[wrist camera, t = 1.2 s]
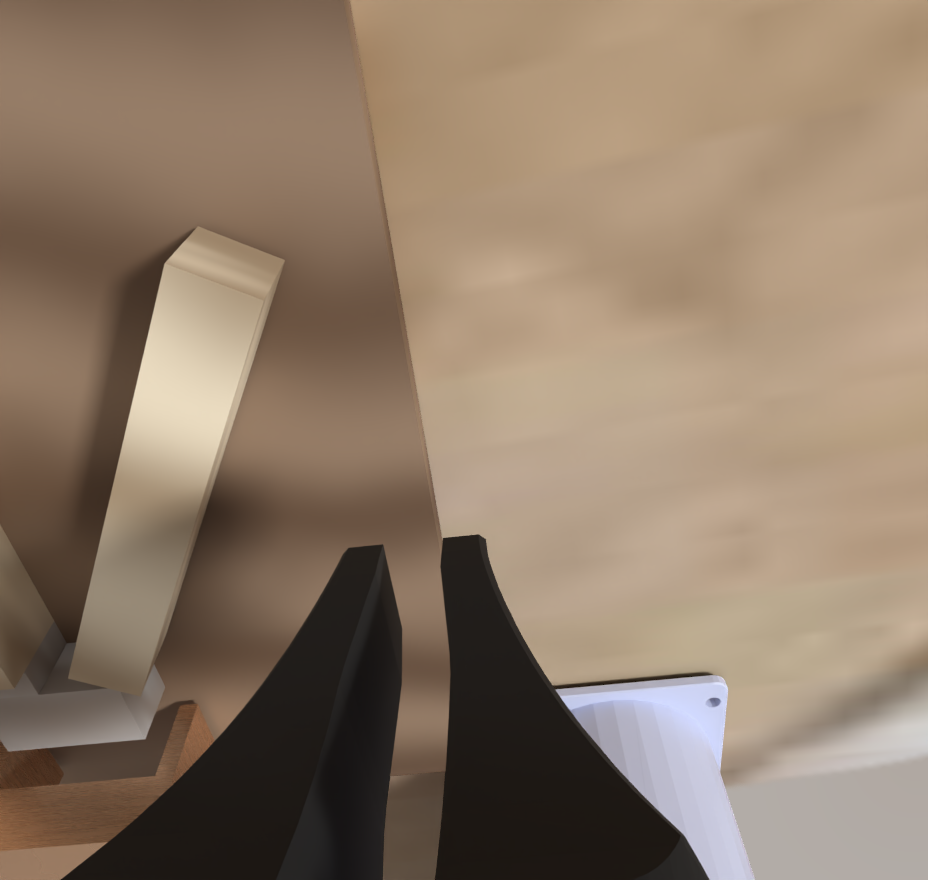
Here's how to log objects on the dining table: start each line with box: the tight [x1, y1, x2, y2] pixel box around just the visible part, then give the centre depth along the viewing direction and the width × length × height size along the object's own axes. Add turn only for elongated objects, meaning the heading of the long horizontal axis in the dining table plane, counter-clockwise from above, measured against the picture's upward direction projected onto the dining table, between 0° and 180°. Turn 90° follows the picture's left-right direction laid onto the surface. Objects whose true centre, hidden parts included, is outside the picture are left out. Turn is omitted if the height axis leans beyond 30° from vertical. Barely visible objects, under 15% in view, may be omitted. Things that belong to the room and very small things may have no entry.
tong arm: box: [68, 226, 285, 697], centre depth 20 cm, size 13×2×2 cm, turn 157°
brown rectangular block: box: [0, 704, 215, 880], centre depth 25 cm, size 3×6×5 cm, turn 97°
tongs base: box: [0, 0, 450, 784], centre depth 21 cm, size 26×18×4 cm
